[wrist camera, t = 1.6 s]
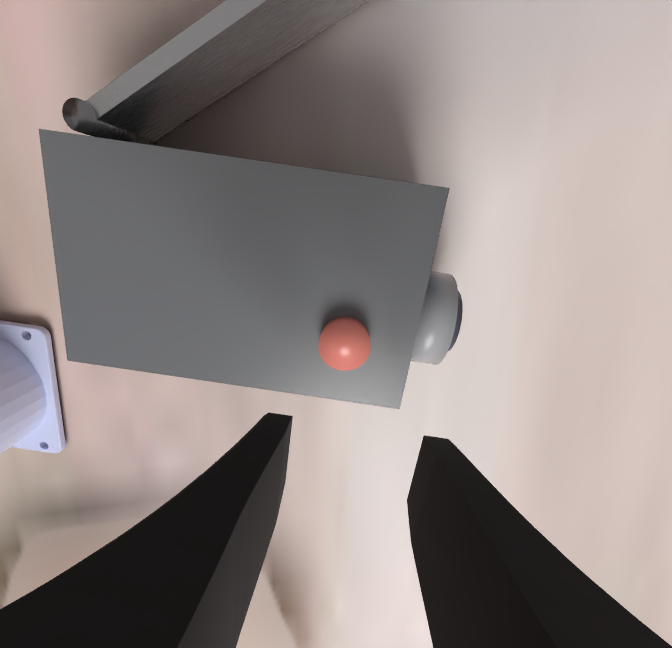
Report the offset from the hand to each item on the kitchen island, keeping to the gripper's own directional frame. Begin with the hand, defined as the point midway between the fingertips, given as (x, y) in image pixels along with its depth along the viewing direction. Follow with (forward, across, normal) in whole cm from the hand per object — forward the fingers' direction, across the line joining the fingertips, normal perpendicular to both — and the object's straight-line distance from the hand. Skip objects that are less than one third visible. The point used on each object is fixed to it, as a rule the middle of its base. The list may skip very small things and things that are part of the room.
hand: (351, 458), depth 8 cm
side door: (+9, +6, -11) cm, 16 cm away
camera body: (+9, +4, -3) cm, 11 cm away
